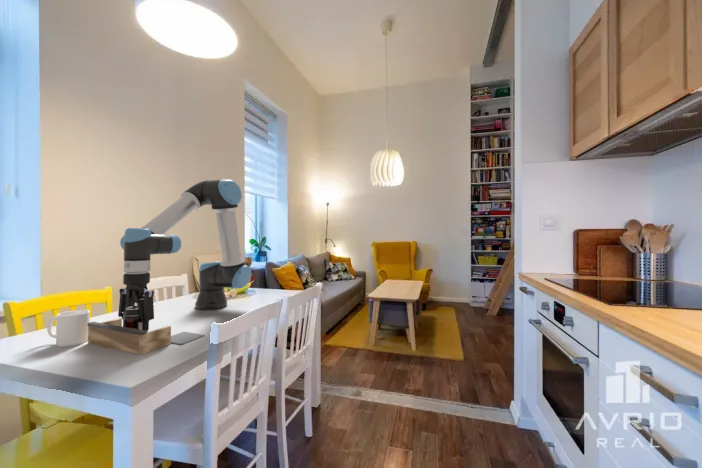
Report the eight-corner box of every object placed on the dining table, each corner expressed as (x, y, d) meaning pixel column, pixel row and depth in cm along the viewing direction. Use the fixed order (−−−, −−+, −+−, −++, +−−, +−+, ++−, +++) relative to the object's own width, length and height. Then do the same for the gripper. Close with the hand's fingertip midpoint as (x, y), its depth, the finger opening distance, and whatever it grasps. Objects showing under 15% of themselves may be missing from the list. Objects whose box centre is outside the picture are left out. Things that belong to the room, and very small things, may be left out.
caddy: (119, 334, 111) (119, 315, 111) (170, 343, 102) (171, 323, 102) (87, 343, 101) (87, 323, 101) (141, 354, 93) (141, 332, 93)
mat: (184, 332, 114) (184, 331, 114) (204, 335, 111) (204, 334, 111) (159, 341, 105) (159, 340, 105) (181, 345, 102) (181, 343, 102)
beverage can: (148, 342, 103) (149, 307, 103) (123, 346, 99) (124, 310, 99) (146, 337, 109) (146, 304, 109) (122, 341, 104) (123, 306, 104)
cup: (76, 346, 98) (77, 315, 98) (35, 347, 97) (36, 316, 97) (95, 338, 107) (95, 309, 107) (57, 338, 105) (58, 310, 105)
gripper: (105, 272, 104) (104, 338, 103) (147, 275, 97) (145, 346, 97) (128, 269, 111) (126, 332, 110) (167, 273, 104) (166, 339, 104)
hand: (135, 338), depth 104 cm, fingers closed on beverage can, 7 cm apart
